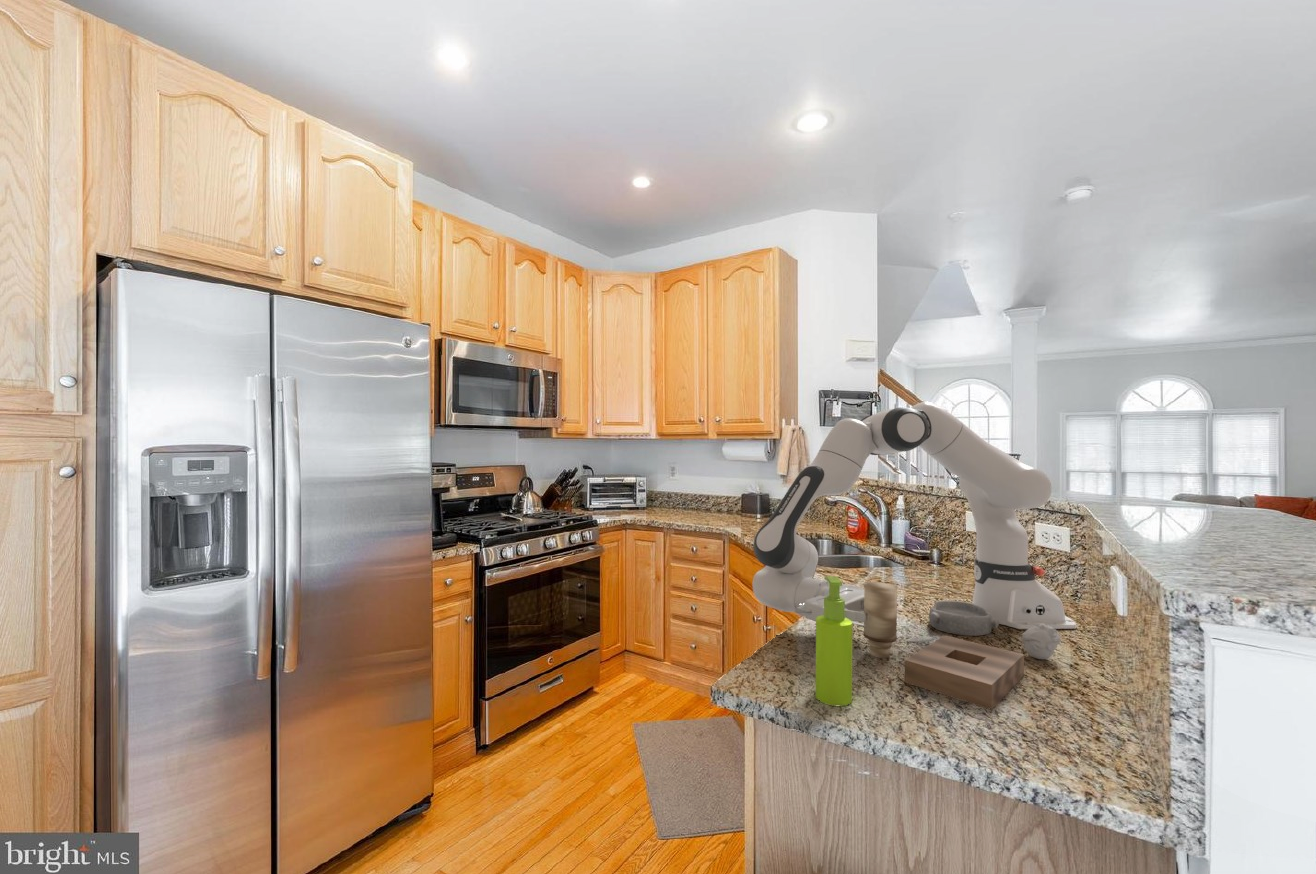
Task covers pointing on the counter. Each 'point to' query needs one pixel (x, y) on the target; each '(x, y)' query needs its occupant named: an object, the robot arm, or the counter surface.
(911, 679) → the walnut board
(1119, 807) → the counter surface
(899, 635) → the fork
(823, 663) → the soap dispenser
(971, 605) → the dish
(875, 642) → the maple leg
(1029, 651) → the frog figurine
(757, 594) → the robot arm
